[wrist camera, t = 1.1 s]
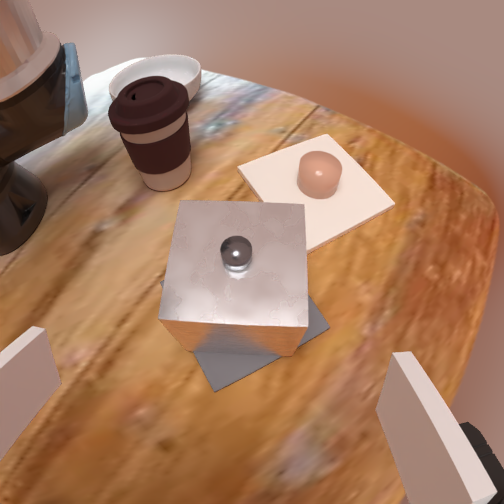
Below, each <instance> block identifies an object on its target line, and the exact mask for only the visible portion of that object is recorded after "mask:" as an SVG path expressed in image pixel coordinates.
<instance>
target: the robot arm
mask: <svg viewBox="0 0 504 504" xmlns="http://www.w3.org/2000/svg"><path fill="white" fill-rule="evenodd" d="M87 116H88V108H87V103H86V98H85V92H84V87H83V82H82V77H81V72H80V67H79V61H78V56H77V51H76V47H75V44H74V43H66V44H64V45H62V46H61V43H60V41H59V39H58V37H57V35H55V34H54V33H51V32H42V31H41V29H40V27H39V24H38V22H37V19H36V17H35V14H34V12H33V9H32V6H31V4H30V1H29V0H0V255H4V254H7V253H9V252H11V251H13V250H15V249H16V248H18V247H19V246H20V245H21V244H23V243H24V242H25V241H26V240H27V239H28V238H29V237H30V235H31V234H32V233H33V232H34V230H35V229H36V227H37V226H38V224H39V223H40V221H41V219H42V217H43V214H44V212H45V209H46V204H47V192H46V189H45V187H44V186H43V184H42V183H41V181H40V180H39V179H38V178H37V177H36V176H35V175H34V174H32V173H31V172H29V171H28V170H26V169H25V168H23V167H22V166H20V165H19V164H17V163H16V162H15V160H16V159H18V158H20V157H22V156H24V155H25V154H27V153H29V152H31V151H33V150H35V149H37V148H39V147H41V146H43V145H45V144H47V143H49V142H51V141H53V140H55V139H57V138H59V137H61V136H64V135H66V133H68V132H69V131H71V130H73V129H75V128H77V127H79V126H81V125H82V124H83V123H84V122H85V120H86V119H87ZM61 384H62V383H61V380H60V377H59V374H58V371H57V368H56V364H55V361H54V358H53V354H52V351H51V347H50V344H49V340H48V336H47V332H46V329H44V328H39V327H35V326H32V327H31V328H29V329H28V330H27V331H26V332H24V333H23V334H22V335H21V336H20V337H18V338H17V339H16V340H15V341H13V342H12V343H11V344H10V345H9V346H7V347H6V348H5V349H4V350H3V351H1V352H0V461H1V460H2V458H3V457H4V456H5V454H6V453H7V452H8V450H9V449H10V448H11V446H12V445H13V444H14V442H15V441H16V440H17V438H18V437H19V436H20V435H21V433H22V432H23V431H24V429H25V428H26V427H27V426H28V424H29V423H30V422H31V421H32V419H33V418H34V417H35V416H36V414H37V413H38V412H39V411H40V409H41V408H42V407H43V406H44V404H45V403H46V402H47V401H48V399H49V398H50V397H51V396H52V395H53V393H54V392H55V391H56V390H57V388H58V387H59V386H60V385H61ZM376 412H377V415H378V418H379V420H380V423H381V425H382V428H383V431H384V433H385V436H386V439H387V441H388V444H389V447H390V450H391V452H392V455H393V458H394V461H395V463H396V466H397V469H398V472H399V475H400V477H401V480H402V483H403V486H404V489H405V492H406V495H407V498H408V501H409V504H504V469H503V467H502V466H501V464H500V463H499V461H498V459H497V458H496V456H495V454H493V453H492V449H491V448H490V446H489V445H487V442H486V440H485V438H484V437H483V435H482V434H481V432H480V431H479V430H478V429H477V428H475V427H474V426H473V425H471V424H470V423H469V422H466V423H462V424H458V423H457V421H456V420H455V418H454V416H453V415H452V413H451V411H450V410H449V408H448V407H447V405H446V403H445V402H444V400H443V399H442V397H441V396H440V394H439V393H438V391H437V390H436V388H435V386H434V385H433V383H432V382H431V380H430V379H429V377H428V376H427V374H426V373H425V371H424V370H423V368H422V367H421V366H420V364H419V363H418V361H417V360H416V358H415V357H414V355H413V354H412V352H396V353H392V356H391V359H390V363H389V367H388V371H387V374H386V378H385V381H384V384H383V388H382V391H381V394H380V398H379V401H378V404H377V407H376Z"/></svg>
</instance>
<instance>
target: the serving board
mask: <svg viewBox="0 0 504 504" xmlns="http://www.w3.org/2000/svg"><path fill="white" fill-rule="evenodd" d="M311 151H323V152H327V153H329V154H332V155H333V156H335V157H336V158H337V159H338V160H339V161H340V163H341V165H342V174H341V177H340V180H339V184H338V187H337V190H336V192H335V194H334V195H333V196H331V197H329V198H327V199H314V198H311V197H308V196H306V195H305V194H303V193H302V192H301V191H300V189H299V188H298V185H297V177H298V170H299V163H300V159H301V157H302V156H303V155H304V154H306V153H308V152H311ZM238 172H239V174H240V175H241V176H242V178H243V179H244V180H245V182H246V183H247V184H248V186H249V187H250V188H251V190H252V191H253V192H254V194H255V195H256V197H257V198H258V199H259V201H260V202H271V203H294V204H304V207H305V227H306V250H307V254H308V253H310V252H312V251H314V250H316V249H318V248H320V247H322V246H324V245H325V244H327V243H329V242H331V241H333V240H335V239H337V238H338V237H340V236H342V235H344V234H346V233H348V232H350V231H351V230H353V229H355V228H357V227H359V226H361V225H363V224H364V223H366V222H368V221H370V220H372V219H374V218H375V217H377V216H379V215H381V214H383V213H385V212H386V211H388V210H390V209H392V208H393V207H394V205H395V203H394V202H393V201H392V199H391V198H390V197H389V196H388V195H387V194H386V193H385V192H384V191H383V190H382V188H381V187H380V186H379V185H378V184H377V183H376V182H375V181H374V180H373V179H372V178H371V177H370V176H369V175H368V174H367V173H366V171H365V170H364V169H363V168H362V167H361V166H360V165H359V164H358V163H357V162H356V161H355V160H354V159H353V158H352V157H351V156H350V155H349V154H348V153H347V152H346V151H345V150H344V149H343V148H342V147H341V146H340V145H339V144H338V143H337V142H335V141H334V140H333V139H332V138H331V137H330V136H329V135H328V134H324V135H322V136H319V137H316V138H313V139H310V140H307V141H304V142H301V143H298V144H296V145H293V146H290V147H287V148H285V149H282V150H279V151H277V152H274V153H271V154H269V155H266V156H263V157H261V158H258V159H255V160H253V161H250V162H248V163H245V164H243V165H240V166H238Z"/></svg>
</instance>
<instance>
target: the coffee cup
mask: <svg viewBox="0 0 504 504" xmlns="http://www.w3.org/2000/svg"><path fill="white" fill-rule="evenodd" d="M188 106H189V96H188V91H187V89H186V87H185V86H184V85H183V84H181V83H179V82H177V81H173V80H170V79H169V78H167V77H164V76H149V77H144V78H141V79H138V80H135V81H133V82H131V83H130V84H128V85H126V86H125V87H124V88H123V89H122V90H121V91H120V92H119V94H118V96H117V98H116V99H115V100H114V101H113V102H112V104H111V105H110V107H109V111H108V116H109V119H110V122H111V124H112V126H113V127H114V129H115V130H117V131H118V132H120V136H121V139H122V141H123V143H124V145H125V147H126V149H127V151H128V153H129V155H130V157H131V160H132V162H133V164H134V165H135V167H136V168H137V169H138V170H139V172H140V174H141V176H142V178H143V180H144V182H145V184H146V185H147V186H148V187H149V188H151V189H153V190H156V191H168V190H172V189H175V188H177V187H179V186H180V185H182V184H183V183H184V182H185V181H186V180H187V179H188V177H189V176H190V173H191V160H190V150H191V146H190V136H189V125H188V115H187V112H186V110H187V108H188Z"/></svg>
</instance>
